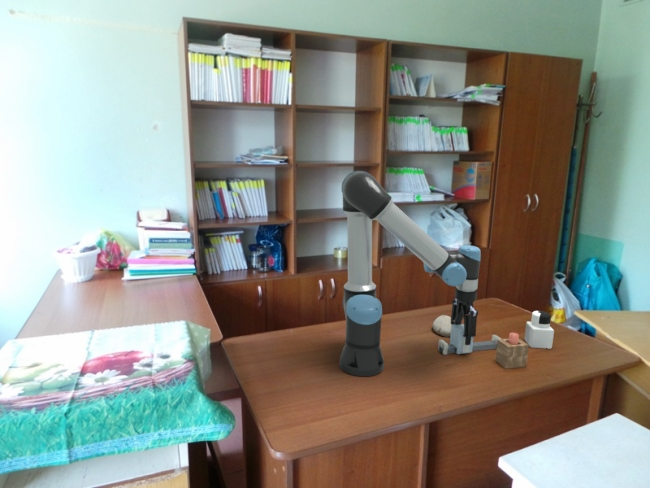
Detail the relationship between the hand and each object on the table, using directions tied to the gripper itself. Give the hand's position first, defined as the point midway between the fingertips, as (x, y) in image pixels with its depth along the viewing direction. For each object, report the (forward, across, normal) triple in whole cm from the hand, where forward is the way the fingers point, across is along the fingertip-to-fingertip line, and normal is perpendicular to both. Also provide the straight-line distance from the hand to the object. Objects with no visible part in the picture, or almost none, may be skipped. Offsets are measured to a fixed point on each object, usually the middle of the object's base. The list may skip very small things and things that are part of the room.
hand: (460, 348), depth 165 cm
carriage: (+1, 0, 0) cm, 1 cm away
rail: (+1, 0, -4) cm, 4 cm away
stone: (+1, +18, -4) cm, 18 cm away
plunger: (-2, -13, -12) cm, 18 cm away
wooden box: (+1, -13, -12) cm, 18 cm away
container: (+1, -1, -33) cm, 33 cm away
